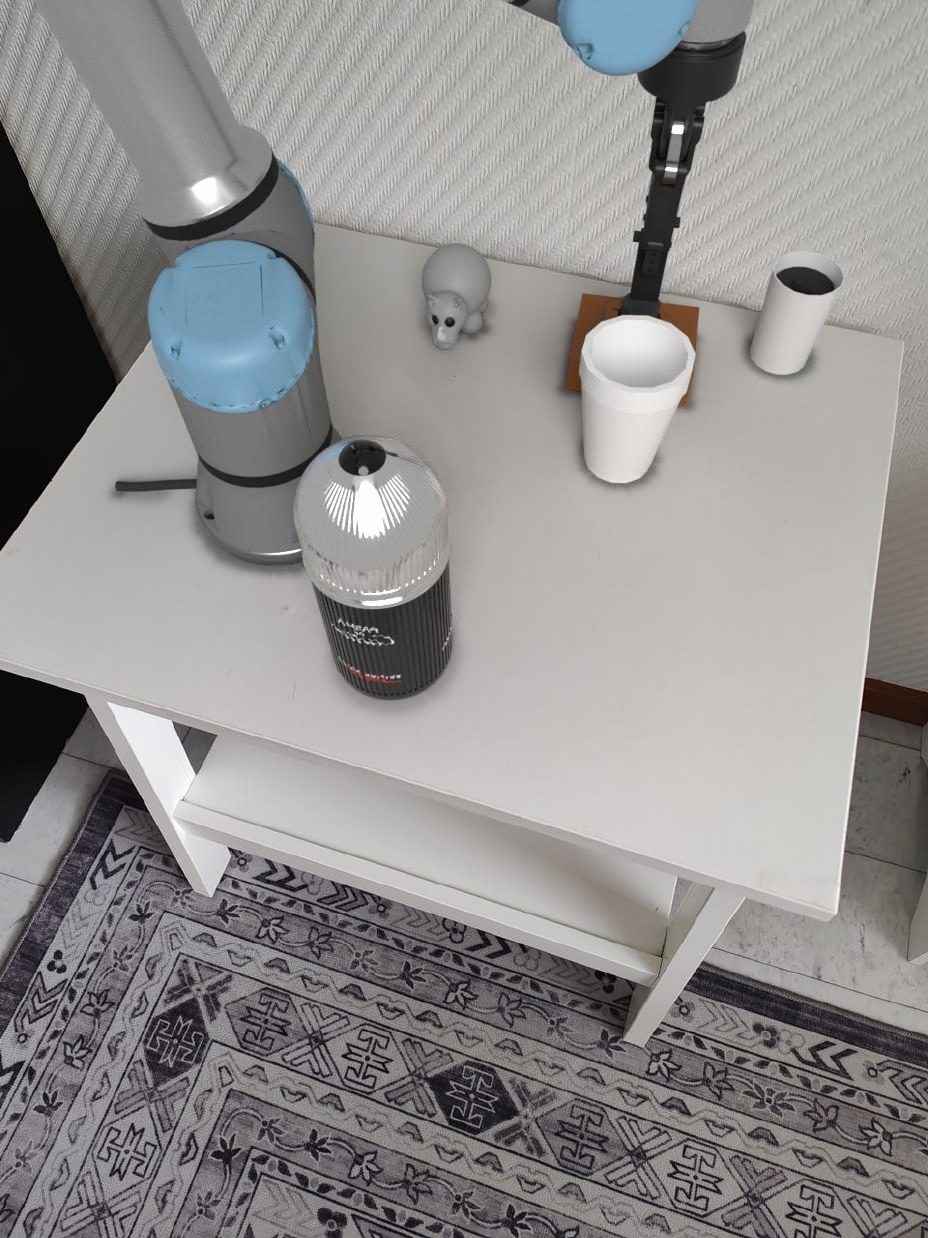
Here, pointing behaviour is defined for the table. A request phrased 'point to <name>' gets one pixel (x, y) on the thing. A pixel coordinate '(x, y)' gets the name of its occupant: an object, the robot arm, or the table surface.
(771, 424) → the table surface
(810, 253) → the white cylindrical cup
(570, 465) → the table surface
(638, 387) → the foam cup
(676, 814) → the table surface
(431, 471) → the spray bottle
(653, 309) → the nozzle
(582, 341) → the brown block
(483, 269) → the round bodied animal figurine
